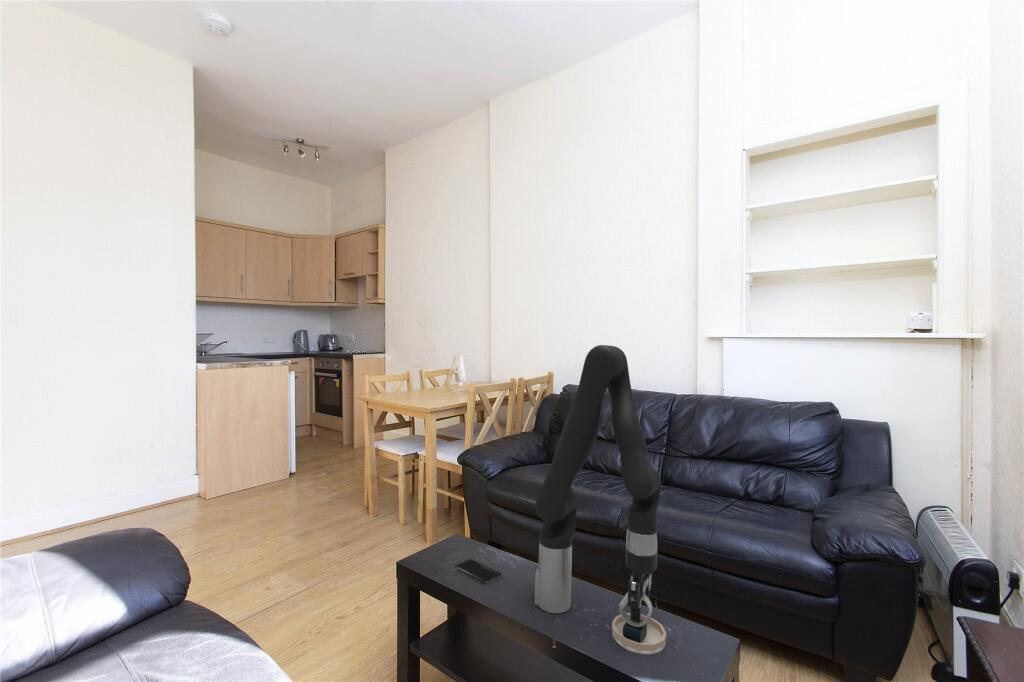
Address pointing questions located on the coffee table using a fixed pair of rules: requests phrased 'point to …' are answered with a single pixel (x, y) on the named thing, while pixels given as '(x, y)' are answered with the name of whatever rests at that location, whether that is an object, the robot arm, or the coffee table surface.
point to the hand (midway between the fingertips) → (640, 613)
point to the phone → (478, 571)
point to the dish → (650, 644)
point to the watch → (633, 629)
